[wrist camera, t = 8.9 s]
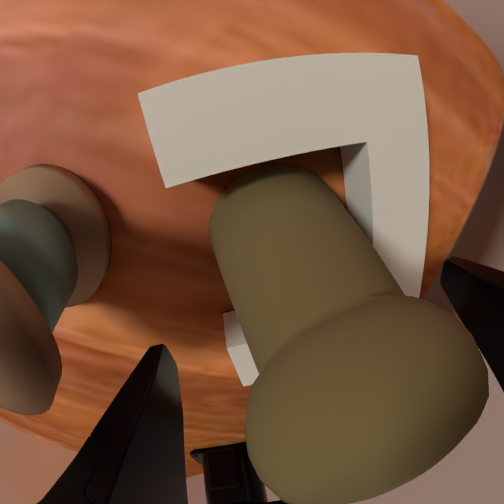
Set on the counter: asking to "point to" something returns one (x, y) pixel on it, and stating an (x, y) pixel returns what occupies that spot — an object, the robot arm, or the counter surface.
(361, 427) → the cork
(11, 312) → the brown spool-shaped piece
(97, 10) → the counter surface
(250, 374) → the notched board
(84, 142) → the counter surface
